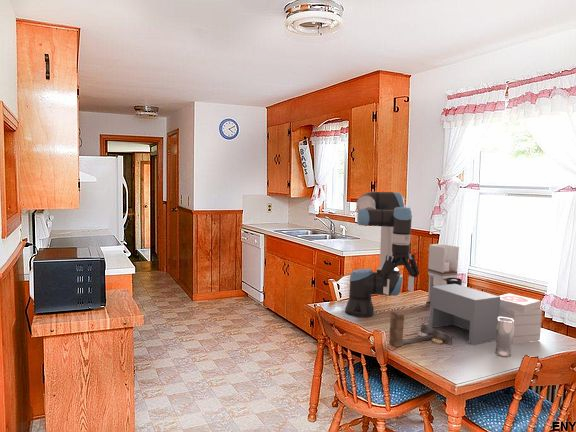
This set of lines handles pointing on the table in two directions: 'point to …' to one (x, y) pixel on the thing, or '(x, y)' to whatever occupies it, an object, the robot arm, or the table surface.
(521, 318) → the stacked pizza boxes
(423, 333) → the steel token
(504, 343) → the beer glass
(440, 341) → the brass token
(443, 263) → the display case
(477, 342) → the grey cabinet
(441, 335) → the brown upright bracket
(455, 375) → the table surface
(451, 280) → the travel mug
